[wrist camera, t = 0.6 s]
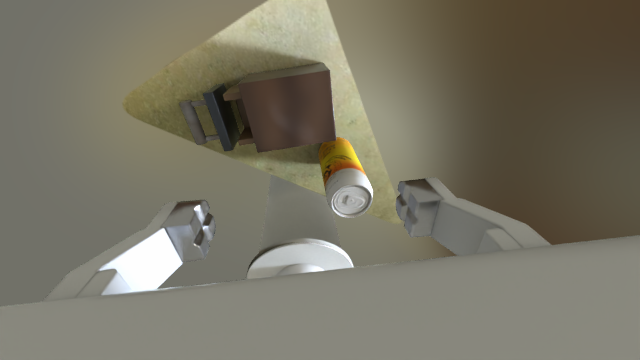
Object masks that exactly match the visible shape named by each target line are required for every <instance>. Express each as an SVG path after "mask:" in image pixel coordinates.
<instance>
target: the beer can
mask: <svg viewBox="0 0 640 360" xmlns="http://www.w3.org/2000/svg"><path fill="white" fill-rule="evenodd" d="M319 160H320V165H321V171H322V176H323V181H324V186H325V192H326V197H327V202H328V205H329V206H330V208H331V209H332V210H333V211H334V212H335V213H336V214H337V215H339V216H342V217H346V218H351V217H357V216H359V215H361V214H363V213H365V212H366V211H367V210H368V209H369V207H370V206H371V203H372V197H373V190H372V187H371V185H370V183H369V181H368V179H367V177H366V175H365V172H364V170H363V168H362V166H361V164H360V162H359V160H358V158H357V156H356V154H355V152H354V150H353V148H352V146H351V144H350V143H349V142H348V141H347V140H346V139H344V138H340V137H336V141H330V142H324V143H323V144H322V145H321V147H320V149H319Z"/></svg>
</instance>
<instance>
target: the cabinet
mask: <svg viewBox="0 0 640 360" xmlns="http://www.w3.org/2000/svg"><path fill="white" fill-rule="evenodd" d="M238 87H239V91H240V94H241V98H242V101H243V104H244V108H245V111H246V115H247V118H248V121H249V125H250V128H251V132H252V135H253V138H254V142H255V145H256V149H257V152H258V153H259V152H265V151H272V150H278V149H285V148H291V147H298V146H304V145H311V144H317V143H324V142H330V141H336V130H335V120H334V109H333V99H332V88H331V78H330V70H329V69H328V68H327V67H326V66H325V64H324V63H318V64H311V65H304V66H298V67H291V68H285V69H278V70H271V71H265V72H258V73H252V74H248V75H247V76H246V77H245V78H243V79H242V80H241V81H240V82H239V83H238Z"/></svg>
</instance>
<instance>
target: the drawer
mask: <svg viewBox="0 0 640 360" xmlns="http://www.w3.org/2000/svg"><path fill="white" fill-rule="evenodd" d="M203 96H204V99H205V100H199V101H193V102H192V101H191V100H185V101H181V102H179V105H180V108H181V110H182V112H183V114H184V117H185V119H186V121H187V124H188V126H189V128H190V130H191V133H192V135H193V137H194V139H195V142H196V144H197V145H201V144H205V143H207V142H208V141H211V140H217V139H220V141H221V144H222V146H223V149H224V151H231V150H233V149H234V147H235V145H236V143H237V141H238V142H239V145H246V144H253V143H255V142H254V138H253V135H252V132H251V128H250V125H249V121H248V118H247V115H246V111H245V108H244V104H243V101H242V98H241V94H240V91H239V87H238V85H234V86H232V87H231V88H230V89H229V90H226V87H225V84H224V83H221V84H216V85H214V86H213V87H212V88H210V89H209V90H207V91H206V92H204V93H203ZM230 100H236V103H237V106H238V109H239V113H240V116H241V119H242V122H243V126H244V130H243V132H242V134H240V131H239V128H238V124H237V121H236V118H235V115H234V112H233V109H232V106H231V103H230ZM202 105H207V106H208V109H209V112H210V114H211V117H212V120H213V122H214V125H215V128H216V130H217V133H218V134H217V135H210V136H206V135H205V133H204V130H203V128H202V125H201V123H200V120H199V118H198V116H197V113H196V111H195V108H194V107H196V106H202ZM240 135H241V136H240ZM239 137H240V138H239Z"/></svg>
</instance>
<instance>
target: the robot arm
mask: <svg viewBox="0 0 640 360" xmlns="http://www.w3.org/2000/svg"><path fill="white" fill-rule="evenodd" d="M398 191H399V192H400V195H399V196H398V197H397V198H396V211H397V214H398V216H399V218H400V219H401V220H403V221H405V224H404V226H405V228H406V230H407V232H408V234H409V235H410V237H421V236H431V237H432V238H434V239H435V240H436V241H438V242H439V243H441V244H442V245H443V246H445V247H446V248H448V249H449V250H451V251H452V252H453V253H455V254H456V255H458V256H451V257H442V258H433V259H425V260H416V261H407V262H398V263H389V264H380V265H371V266H362V267H353V268H344V269H335V270H324V269H322V268H320V267H318V266H315V265H311V264H297V265H292V266H289V267H286V268H284V269H282V270H281V271H279V272H278V273H277V274H276V276H271V277H262V278H253V279H245V280H236V281H227V282H218V283H209V284H200V285H191V286H182V287H173V288H164V289H157V288H158V287H159V286H160V285H161V284H162V283H163V282H164V281H165V280H166V279H167V278H168V277H169V276H170V275H171V274H172V273H173V272H174V271H175V270H176V269H177V268H178V267H179V266H180V265H182V262H188V261H196V260H203V259H205V257H206V255H207V252H208V250H209V247H210V245H209V243H208V242H209V241H210V240H211V239H213V237H214V234H215V228H216V225H215V220H214V217H213V216H212V215H211V214H209V213H208V211H209V209H210V207H209V204H208V202H207V201H206V200H195V201H181V202H170V203H166V204H164V205H163V207H162V208H161V209H160V211H159V212H158V213H157V215H156V216H155V217H154V219H153V220H152V221H151V223H150V224H149V225H148V226H147V228H146V229H145V230H140V231H138V232H137V233H135V234H133V235H132V236H130V237H128V238H127V239H125V240H123V241H121V242H120V243H118V244H117V245H115V246H113V247H111V248H110V249H108V250H106V251H104V252H103V253H101V254H100V255H98V256H96V257H95V258H93V259H91V260H89V261H88V262H86V263H84V264H82V265H81V266H79V267H77V268H76V269H74V270H72V271H71V272H69V273H68V274H67V275H66V276H65V277H64V279H62V280H61V282H60V283H59V284H58V285H57V286H56V287H55V288H54V289H53V290H52V291H51V292H50V293H49V294H48V295H47V296H46V297H45V299H44V300H43V301H42V302H38V303H29V304H20V305H11V306H2V307H0V360H640V235H639V236H630V237H622V238H613V239H604V240H595V241H586V242H576V243H568V244H559V245H551V244H550V243H548V242H547V241H546V240H545V239H543V238H542V237H541V236H540V235H539V234H538V233H536V232H535V231H534V230H533V229H531V228H530V227H529V226H528V225H527V224H525V223H522V222H519V221H517V220H514V219H512V218H510V217H507V216H505V215H502V214H499V213H497V212H494V211H492V210H489V209H487V208H484V207H482V206H479V205H477V204H474V203H472V202H469V201H467V200H464V199H462V198H456V197H455V196H454V195H453V194H452V193H451V192H450V191H449V190H448V189H447V188H446V187H445V186H444V185H443V184H442V183H441V182H440V181H439V180H438V179H437V178H435V177H433V178H425V179H418V180H409V181H401V182H399V185H398Z"/></svg>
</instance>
